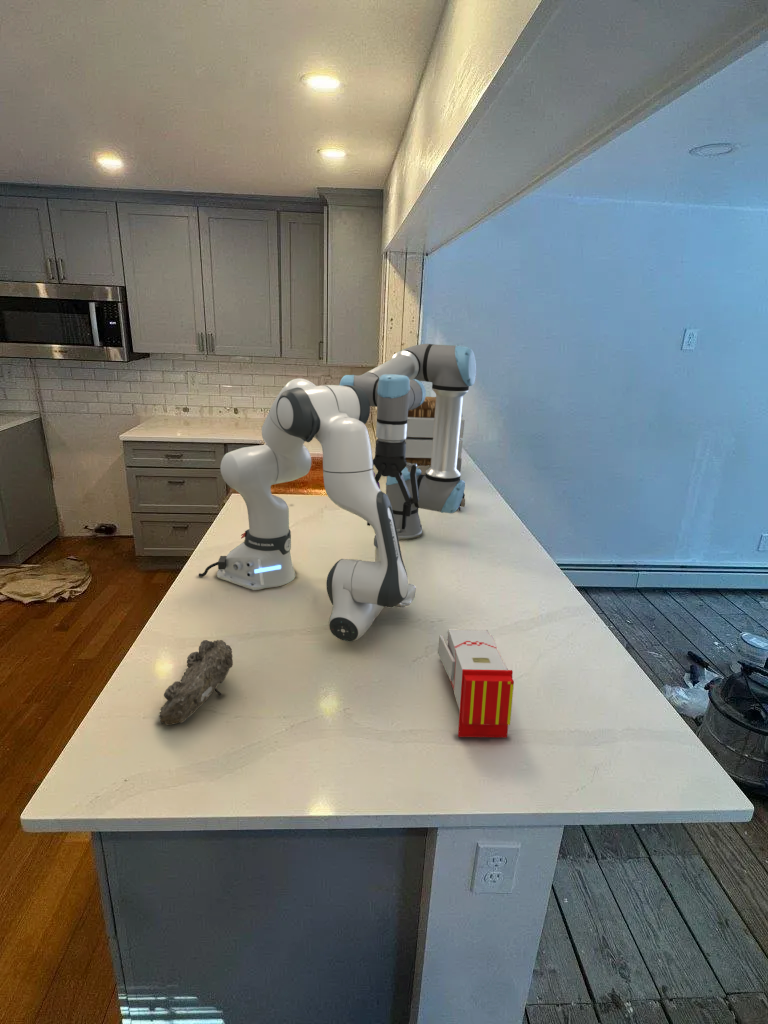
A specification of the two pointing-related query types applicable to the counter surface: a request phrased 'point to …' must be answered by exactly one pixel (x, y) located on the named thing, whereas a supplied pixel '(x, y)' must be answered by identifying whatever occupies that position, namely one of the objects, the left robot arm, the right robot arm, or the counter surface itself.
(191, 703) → the fossil
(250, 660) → the counter surface
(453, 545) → the counter surface
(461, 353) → the right robot arm
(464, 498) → the figurine character
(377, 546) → the lid
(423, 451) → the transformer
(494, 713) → the toy
